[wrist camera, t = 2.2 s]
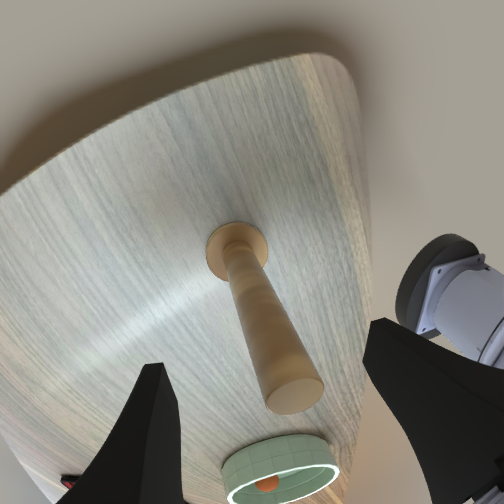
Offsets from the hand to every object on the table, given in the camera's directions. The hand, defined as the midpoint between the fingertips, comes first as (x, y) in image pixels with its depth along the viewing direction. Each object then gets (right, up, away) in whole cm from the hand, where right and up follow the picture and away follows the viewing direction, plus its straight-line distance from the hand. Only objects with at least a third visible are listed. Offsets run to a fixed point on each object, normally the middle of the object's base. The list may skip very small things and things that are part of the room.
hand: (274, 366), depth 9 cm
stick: (-2, +4, +8) cm, 9 cm away
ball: (+1, -24, +18) cm, 30 cm away
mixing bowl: (+2, -21, +20) cm, 29 cm away
